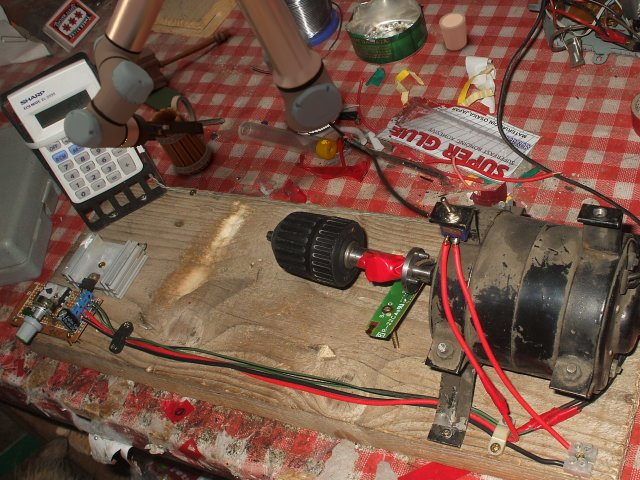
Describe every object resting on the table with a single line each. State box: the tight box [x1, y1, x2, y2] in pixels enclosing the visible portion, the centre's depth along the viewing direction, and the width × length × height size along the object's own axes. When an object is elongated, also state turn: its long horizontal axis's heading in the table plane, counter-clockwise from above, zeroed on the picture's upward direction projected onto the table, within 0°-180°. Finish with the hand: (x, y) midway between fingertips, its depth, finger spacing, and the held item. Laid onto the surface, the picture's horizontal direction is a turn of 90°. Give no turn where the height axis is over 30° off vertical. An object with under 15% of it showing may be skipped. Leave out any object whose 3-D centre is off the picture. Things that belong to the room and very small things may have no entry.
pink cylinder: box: [438, 11, 468, 51], centre depth 163 cm, size 7×7×7 cm
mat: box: [143, 85, 184, 112], centre depth 184 cm, size 12×8×1 cm, turn 50°
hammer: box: [136, 28, 231, 91], centre depth 188 cm, size 7×33×10 cm, turn 130°
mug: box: [149, 95, 213, 176], centre depth 161 cm, size 16×11×15 cm
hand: (178, 132), depth 158 cm, fingers open, 13 cm apart
